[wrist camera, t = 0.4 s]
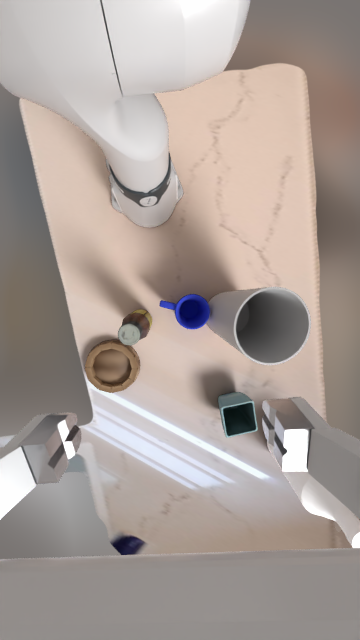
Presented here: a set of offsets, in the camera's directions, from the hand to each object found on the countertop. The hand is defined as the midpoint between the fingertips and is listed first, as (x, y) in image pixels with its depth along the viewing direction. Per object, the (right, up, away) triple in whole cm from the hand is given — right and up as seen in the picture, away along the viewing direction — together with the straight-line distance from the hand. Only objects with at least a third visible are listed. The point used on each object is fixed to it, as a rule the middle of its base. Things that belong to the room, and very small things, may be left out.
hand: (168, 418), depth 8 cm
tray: (-19, -9, +46) cm, 51 cm away
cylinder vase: (+14, +6, +47) cm, 49 cm away
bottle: (+34, -35, +53) cm, 72 cm away
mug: (+1, +8, +46) cm, 46 cm away
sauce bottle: (-10, +4, +45) cm, 47 cm away
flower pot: (+16, -21, +50) cm, 56 cm away
